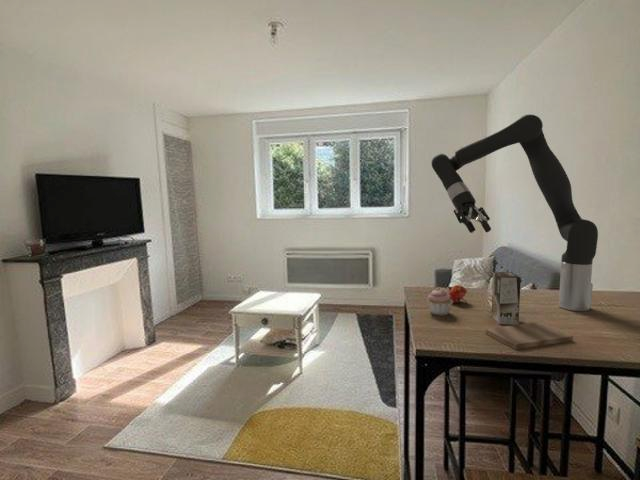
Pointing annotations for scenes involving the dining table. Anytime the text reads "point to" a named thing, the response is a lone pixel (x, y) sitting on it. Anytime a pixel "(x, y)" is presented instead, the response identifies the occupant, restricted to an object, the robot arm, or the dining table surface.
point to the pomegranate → (456, 293)
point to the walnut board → (528, 335)
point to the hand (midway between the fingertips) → (481, 231)
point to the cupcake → (439, 302)
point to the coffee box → (506, 297)
